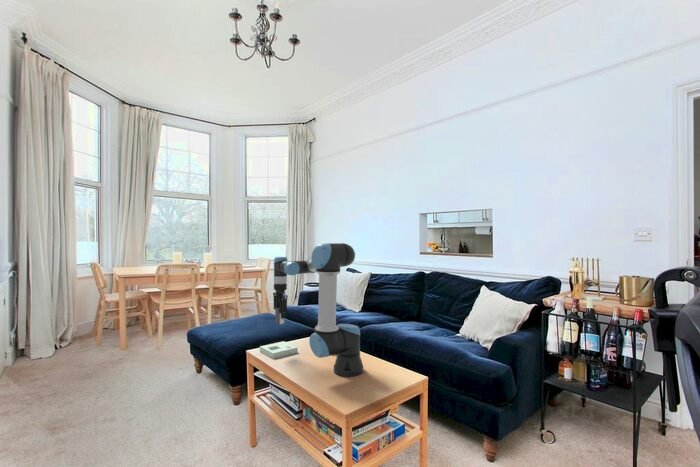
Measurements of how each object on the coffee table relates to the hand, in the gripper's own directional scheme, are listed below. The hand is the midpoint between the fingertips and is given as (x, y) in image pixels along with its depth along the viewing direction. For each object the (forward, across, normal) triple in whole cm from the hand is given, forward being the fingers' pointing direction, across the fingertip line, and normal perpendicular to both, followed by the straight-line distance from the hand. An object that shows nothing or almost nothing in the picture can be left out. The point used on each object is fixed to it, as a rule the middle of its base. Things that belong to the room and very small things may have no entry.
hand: (279, 322), depth 207 cm
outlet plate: (+17, +1, 0) cm, 17 cm away
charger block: (0, 0, 0) cm, 0 cm away
